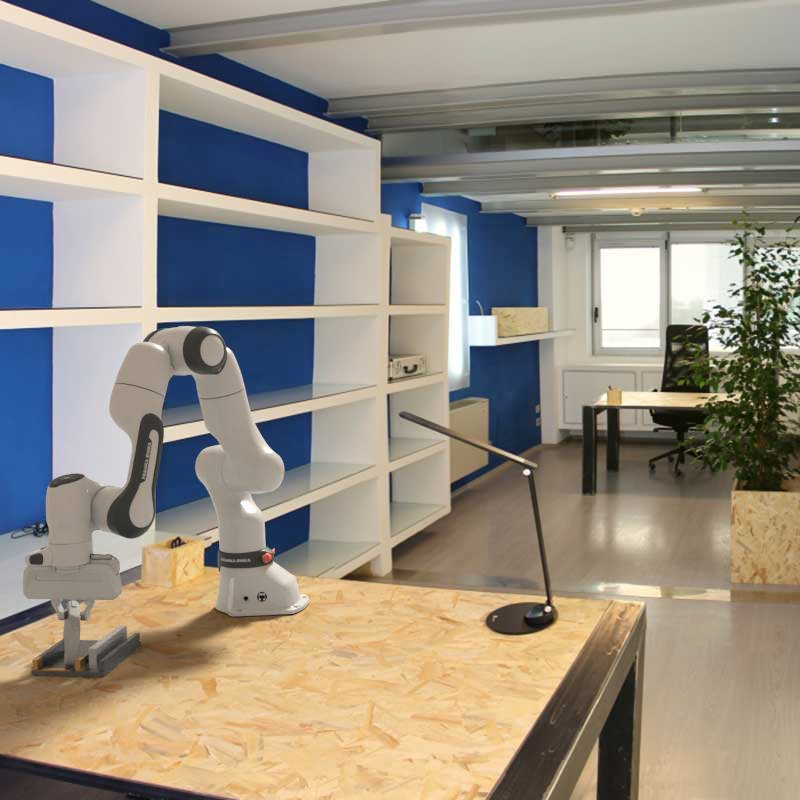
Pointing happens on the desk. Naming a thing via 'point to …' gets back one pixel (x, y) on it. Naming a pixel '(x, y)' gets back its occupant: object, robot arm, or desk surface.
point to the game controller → (71, 633)
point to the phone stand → (88, 656)
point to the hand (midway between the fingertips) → (74, 619)
